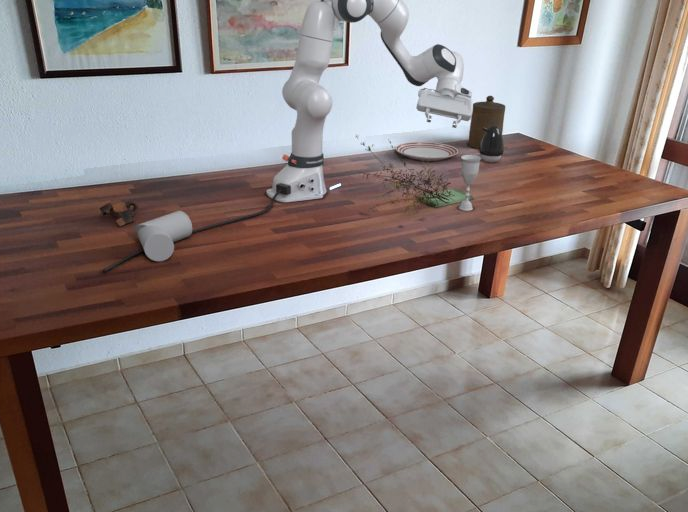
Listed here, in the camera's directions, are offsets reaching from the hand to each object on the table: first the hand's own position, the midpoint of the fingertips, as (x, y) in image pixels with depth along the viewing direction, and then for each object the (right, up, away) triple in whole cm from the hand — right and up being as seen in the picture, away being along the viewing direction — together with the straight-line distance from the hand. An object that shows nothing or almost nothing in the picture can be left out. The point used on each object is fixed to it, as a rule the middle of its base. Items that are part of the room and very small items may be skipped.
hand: (441, 123), depth 250 cm
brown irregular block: (-108, -39, -21) cm, 117 cm away
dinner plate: (0, +4, +55) cm, 55 cm away
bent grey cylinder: (-88, -50, -39) cm, 108 cm away
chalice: (+8, -31, -2) cm, 32 cm away
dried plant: (-15, -38, -14) cm, 43 cm away
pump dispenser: (+27, 0, +51) cm, 57 cm away
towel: (+2, -26, +6) cm, 27 cm away
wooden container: (+29, +13, +72) cm, 79 cm away
